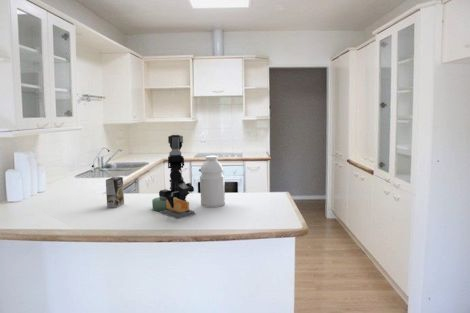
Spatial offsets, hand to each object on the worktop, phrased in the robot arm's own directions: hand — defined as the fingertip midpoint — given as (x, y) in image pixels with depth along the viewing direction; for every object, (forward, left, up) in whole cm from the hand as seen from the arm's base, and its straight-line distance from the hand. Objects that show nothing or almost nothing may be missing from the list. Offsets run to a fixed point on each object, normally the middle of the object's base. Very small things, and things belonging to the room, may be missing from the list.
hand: (177, 206), depth 204 cm
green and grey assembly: (-2, -7, -4) cm, 8 cm away
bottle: (-25, 0, -4) cm, 25 cm away
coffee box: (+14, -41, -4) cm, 44 cm away
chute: (0, 0, -1) cm, 1 cm away
